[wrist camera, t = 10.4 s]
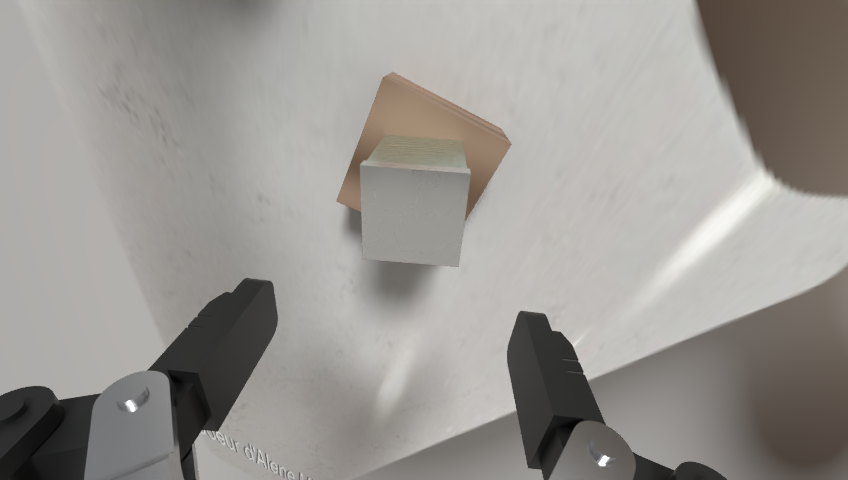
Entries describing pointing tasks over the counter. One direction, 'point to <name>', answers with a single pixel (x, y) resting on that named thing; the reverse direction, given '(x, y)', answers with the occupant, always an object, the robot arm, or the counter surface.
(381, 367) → the counter surface
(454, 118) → the walnut block
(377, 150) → the tea tin
